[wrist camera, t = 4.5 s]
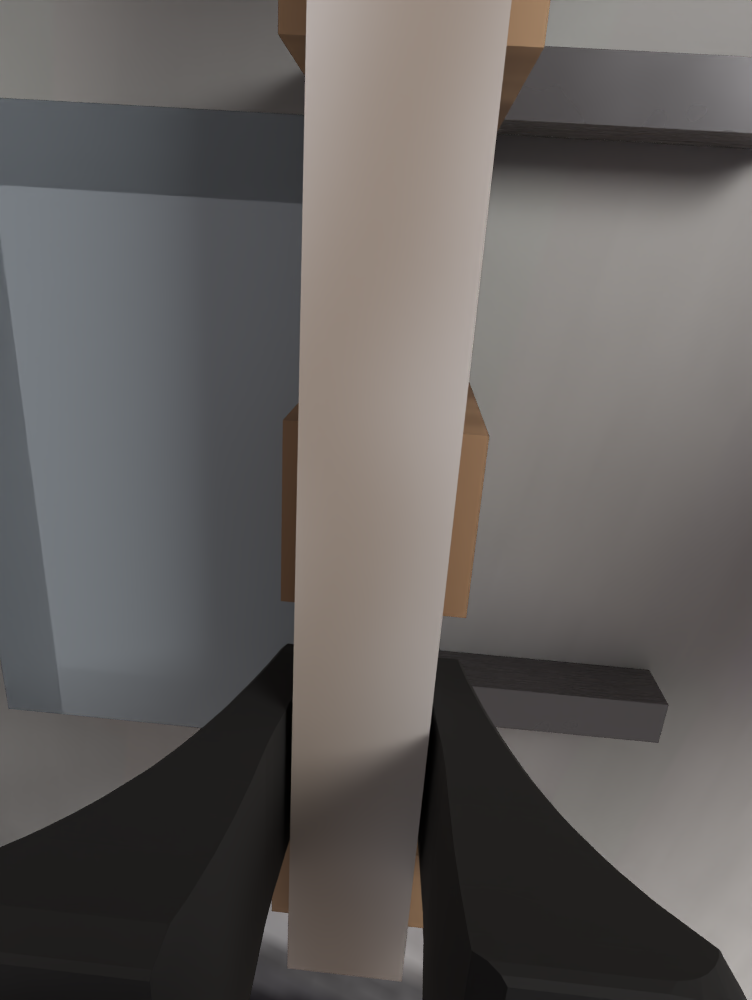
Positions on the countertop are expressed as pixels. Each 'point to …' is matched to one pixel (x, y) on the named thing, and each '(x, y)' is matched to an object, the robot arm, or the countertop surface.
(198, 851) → the robot arm
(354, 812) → the tan piece
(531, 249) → the countertop surface
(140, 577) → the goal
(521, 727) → the rail frame
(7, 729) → the countertop surface
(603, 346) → the countertop surface
